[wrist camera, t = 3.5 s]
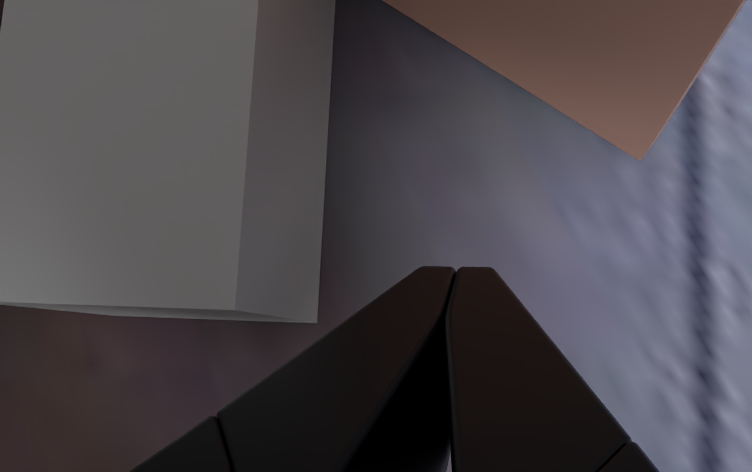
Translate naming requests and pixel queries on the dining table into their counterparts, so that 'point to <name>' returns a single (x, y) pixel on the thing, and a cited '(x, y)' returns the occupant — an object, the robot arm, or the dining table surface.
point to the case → (164, 156)
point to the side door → (590, 54)
